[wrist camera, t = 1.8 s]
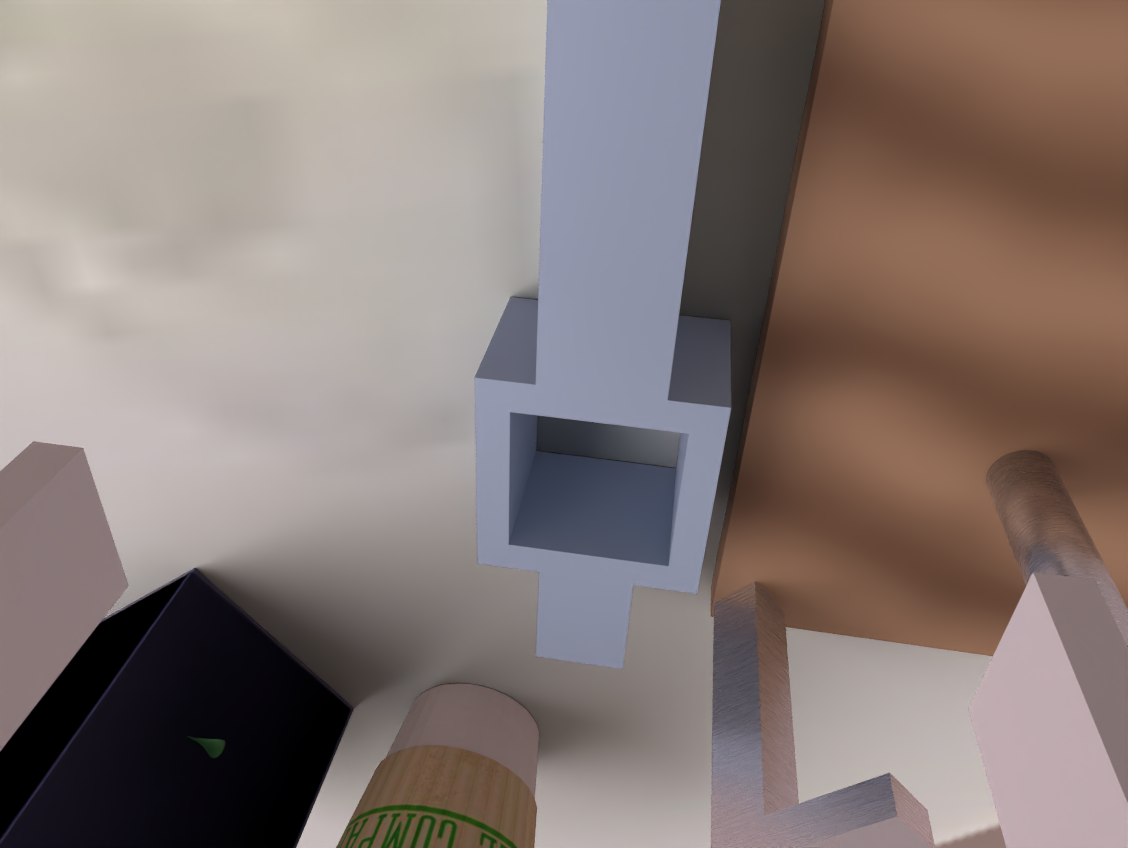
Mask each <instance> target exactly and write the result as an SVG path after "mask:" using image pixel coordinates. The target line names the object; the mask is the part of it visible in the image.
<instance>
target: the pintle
mask: <svg viewBox="0 0 1128 848" xmlns="http://www.w3.org/2000/svg"><path fill="white" fill-rule="evenodd" d="M986 485H987V488H988V490H989V493H990V495H991V498H992V500H993V503H994V506H995V508H996V511H997V513H998V516H999V518H1000V521H1001V523H1002V526H1003V529H1004V531H1005V534H1006V536H1007V539H1008V541H1009V544H1010V546H1011V549H1012V552H1013V554H1014V557H1015V559H1016V562H1017V564H1018V567H1019V569H1020V572H1021V575H1022V577H1023V580H1024V582H1025V585H1026V586H1027V584H1028V582H1029V580H1030V577H1031V575H1032V573H1033V572H1036V573H1044V574H1051V575H1059V576H1067V577H1074V578H1082V579H1090V580H1095V581H1096V583H1097V585H1098V587H1099V589H1100V591H1101V593H1102V596H1103V598H1104V600H1105V602H1106V604H1107V606H1108V608H1109V610H1110V612H1111V614H1112V616H1113V618H1114V620H1115V622H1116V624H1117V626H1118V628H1119V631H1120V633H1121V635H1122V637H1123V639H1124V641H1125V643H1126V645H1127V647H1128V608H1127V607H1126V605H1125V603H1124V601H1123V599H1122V597H1121V595H1120V593H1119V591H1118V589H1117V587H1116V585H1115V583H1114V581H1113V579H1112V577H1111V575H1110V573H1109V571H1108V569H1107V567H1106V565H1105V563H1104V561H1103V559H1102V557H1101V555H1100V553H1099V551H1098V550H1097V548H1096V546H1095V544H1094V542H1093V540H1092V538H1091V536H1090V534H1089V532H1088V530H1087V528H1086V526H1085V524H1084V522H1083V520H1082V518H1081V516H1080V514H1079V512H1078V510H1077V508H1076V506H1075V504H1074V502H1073V500H1072V498H1071V496H1070V494H1069V492H1068V491H1067V489H1066V487H1065V485H1064V483H1063V481H1062V479H1061V477H1060V475H1059V473H1058V471H1057V469H1056V467H1055V465H1054V463H1053V462H1052V460H1051V459H1050V458H1049V457H1048V456H1046V455H1045V454H1043V453H1040V452H1037V451H1032V450H1021V451H1015V452H1011V453H1008V454H1006V455H1004V456H1002V457H1000V458H999V459H997V460H996V461H995V462H994V463H993V464H992V465H991V466H990V468H989V469H988V471H987V474H986Z"/></svg>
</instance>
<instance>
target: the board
mask: <svg viewBox="0 0 1128 848" xmlns="http://www.w3.org/2000/svg"><path fill="white" fill-rule="evenodd" d="M1021 450H1032V451H1037V452H1040V453H1043V454H1045V455H1046V456H1048V457H1049V458H1050V459H1051V460H1052V462H1053V463H1054V465H1055V467H1056V469H1057V471H1058V473H1059V475H1060V477H1061V479H1062V481H1063V483H1064V485H1065V487H1066V489H1067V491H1068V492H1069V494H1070V496H1071V498H1072V500H1073V502H1074V504H1075V506H1076V508H1077V510H1078V512H1079V514H1080V516H1081V518H1082V520H1083V522H1084V524H1085V526H1086V528H1087V530H1088V532H1089V534H1090V536H1091V538H1092V540H1093V542H1094V544H1095V546H1096V548H1097V550H1098V551H1099V553H1100V555H1101V557H1102V559H1103V561H1104V563H1105V565H1106V567H1107V569H1108V571H1109V573H1110V575H1111V577H1112V579H1113V581H1114V583H1115V585H1116V587H1117V589H1118V591H1119V593H1120V595H1121V597H1122V599H1123V601H1124V603H1125V605H1126V607H1127V608H1128V0H826V1H825V6H824V11H823V17H822V22H821V27H820V32H819V37H818V42H817V47H816V52H815V58H814V63H813V68H812V73H811V78H810V83H809V88H808V93H807V99H806V104H805V109H804V114H803V119H802V124H801V129H800V134H799V140H798V145H797V150H796V155H795V160H794V165H793V170H792V175H791V181H790V186H789V191H788V196H787V201H786V206H785V211H784V216H783V222H782V227H781V232H780V237H779V242H778V247H777V252H776V258H775V263H774V268H773V273H772V278H771V283H770V288H769V293H768V299H767V304H766V309H765V314H764V319H763V324H762V329H761V334H760V340H759V345H758V350H757V355H756V360H755V365H754V370H753V375H752V381H751V386H750V391H749V396H748V401H747V406H746V411H745V416H744V422H743V427H742V432H741V437H740V442H739V447H738V452H737V457H736V463H735V468H734V473H733V478H732V483H731V488H730V493H729V498H728V504H727V509H726V514H725V519H724V524H723V529H722V534H721V539H720V545H719V550H718V555H717V560H716V565H715V570H714V575H713V580H712V586H711V616H712V617H714V601H716V600H718V599H720V598H722V597H724V596H726V595H728V594H730V593H732V592H734V591H736V590H738V589H740V588H742V587H744V586H746V585H748V584H750V583H752V582H754V581H755V582H756V583H757V584H758V585H759V586H760V587H761V588H762V589H763V590H764V591H765V592H766V593H767V594H768V595H769V596H770V597H771V598H772V599H773V600H774V601H775V602H776V603H777V604H778V605H779V606H780V607H781V608H782V609H783V610H784V614H785V627H790V628H797V629H804V630H811V631H819V632H826V633H833V634H840V635H847V636H854V637H861V638H868V639H875V640H882V641H890V642H897V643H904V644H911V645H918V646H925V647H932V648H939V649H946V650H953V651H960V652H968V653H975V654H982V655H989V656H993V655H994V653H995V651H996V649H997V647H998V645H999V642H1000V640H1001V638H1002V636H1003V634H1004V632H1005V630H1006V628H1007V626H1008V624H1009V622H1010V619H1011V617H1012V615H1013V613H1014V611H1015V609H1016V607H1017V605H1018V603H1019V601H1020V598H1021V596H1022V594H1023V592H1024V590H1025V588H1026V585H1025V582H1024V580H1023V577H1022V575H1021V572H1020V569H1019V567H1018V564H1017V562H1016V559H1015V557H1014V554H1013V552H1012V549H1011V546H1010V544H1009V541H1008V539H1007V536H1006V534H1005V531H1004V529H1003V526H1002V523H1001V521H1000V518H999V516H998V513H997V511H996V508H995V506H994V503H993V500H992V498H991V495H990V493H989V490H988V488H987V485H986V474H987V471H988V469H989V468H990V466H991V465H992V464H993V463H994V462H995V461H996V460H997V459H999V458H1000V457H1002V456H1004V455H1006V454H1008V453H1011V452H1015V451H1021Z"/></svg>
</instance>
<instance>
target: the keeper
mask: <svg viewBox="0 0 1128 848" xmlns="http://www.w3.org/2000/svg"><path fill="white" fill-rule="evenodd" d="M711 848H935V845H934V840H933V835H932V830H931V825H930V821H929V816H928V811H927V809H926V808H925V807H924V806H923V805H922V804H921V803H920V802H919V801H918V800H917V799H916V798H915V797H914V796H913V795H912V794H911V793H910V792H909V791H908V790H907V789H906V788H905V787H904V786H903V785H902V784H901V783H900V782H899V781H898V780H897V779H895V778H894V777H893V776H892V775H891V774H890V773H888V774H885V775H882V776H879V777H876V778H873V779H870V780H867V781H864V782H861V783H858V784H855V785H852V786H849V787H847V788H844V789H841V790H838V791H835V792H832V793H829V794H826V795H823V796H820V797H817V798H814V799H811V800H808V801H805V802H803V803H800V804H799V800H798V787H797V774H796V760H795V747H794V734H793V721H792V707H791V694H790V681H789V667H788V654H787V641H786V628H785V614H784V610H783V609H782V608H781V607H780V606H779V605H778V604H777V603H776V602H775V601H774V600H773V599H772V598H771V597H770V596H769V595H768V594H767V593H766V592H765V591H764V590H763V589H762V588H761V587H760V586H759V585H758V584H757V583H756V582H755V581H754V582H752V583H750V584H748V585H746V586H744V587H742V588H740V589H738V590H736V591H734V592H732V593H730V594H728V595H726V596H724V597H722V598H720V599H718V600H716V601H714V647H713V723H712V799H711Z"/></svg>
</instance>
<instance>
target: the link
mask: <svg viewBox="0 0 1128 848" xmlns="http://www.w3.org/2000/svg"><path fill="white" fill-rule="evenodd" d="M720 3H721V0H547V32H546V65H545V97H544V130H543V162H542V194H541V227H540V259H539V292H538V300H534V299H525V298H516V297H510V299H509V301H508V304H507V306H506V308H505V310H504V313H503V315H502V317H501V319H500V322H499V324H498V326H497V328H496V331H495V333H494V335H493V337H492V340H491V342H490V344H489V346H488V349H487V351H486V353H485V355H484V358H483V360H482V362H481V364H480V367H479V369H478V371H477V373H476V376H475V433H476V496H477V560H478V564H484V565H491V566H498V567H506V568H513V569H520V570H527V571H534V572H539V590H538V615H537V641H536V657H542V658H549V659H556V660H563V661H569V662H576V663H583V664H590V665H596V666H603V667H610V668H617V669H623V664H624V656H625V648H626V639H627V631H628V623H629V615H630V607H631V599H632V591H633V585H635V586H642V587H650V588H657V589H664V590H671V591H679V592H686V593H693V594H697V592H698V586H699V581H700V575H701V570H702V564H703V559H704V553H705V548H706V543H707V537H708V532H709V526H710V521H711V515H712V510H713V504H714V499H715V493H716V488H717V483H718V477H719V472H720V466H721V461H722V455H723V450H724V444H725V439H726V434H727V428H728V423H729V417H730V412H731V347H730V321H728V320H718V319H709V318H700V317H691V316H681V315H679V311H680V303H681V296H682V288H683V281H684V273H685V266H686V258H687V251H688V243H689V236H690V228H691V221H692V213H693V206H694V198H695V191H696V183H697V176H698V168H699V160H700V153H701V145H702V138H703V130H704V123H705V115H706V108H707V100H708V93H709V85H710V78H711V70H712V63H713V55H714V48H715V40H716V33H717V25H718V18H719V10H720ZM537 415H538V416H546V417H555V418H563V419H571V420H579V421H588V422H596V423H604V424H612V425H621V426H629V427H637V428H645V429H654V430H662V431H670V432H678V433H681V437H680V444H679V451H678V458H677V464H676V468H668V467H661V466H653V465H645V464H637V463H629V462H621V461H613V460H605V459H597V458H589V457H581V456H573V455H565V454H557V453H549V452H541V451H536V444H537Z"/></svg>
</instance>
